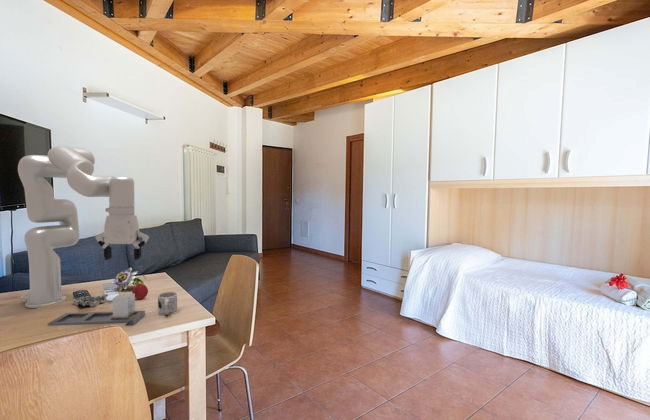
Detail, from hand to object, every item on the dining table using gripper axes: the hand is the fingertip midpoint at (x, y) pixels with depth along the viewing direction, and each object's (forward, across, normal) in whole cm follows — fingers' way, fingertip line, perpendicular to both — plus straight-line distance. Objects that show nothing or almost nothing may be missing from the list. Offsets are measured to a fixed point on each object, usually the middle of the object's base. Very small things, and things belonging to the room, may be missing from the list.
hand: (122, 259), depth 112 cm
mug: (+23, +13, +5) cm, 27 cm away
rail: (+22, -8, -1) cm, 24 cm away
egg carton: (+23, -20, +16) cm, 34 cm away
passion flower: (+23, -15, +37) cm, 46 cm away
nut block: (+21, +1, -1) cm, 21 cm away
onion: (+23, -3, +20) cm, 31 cm away
